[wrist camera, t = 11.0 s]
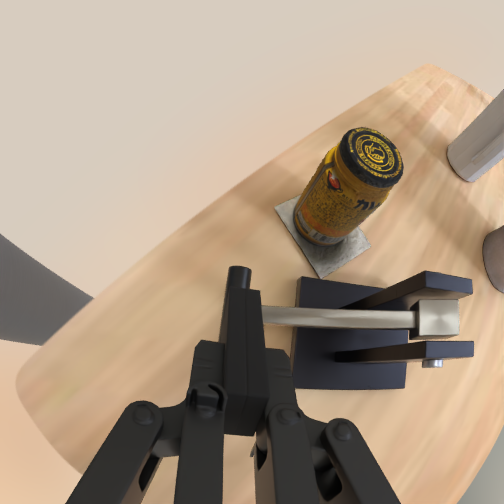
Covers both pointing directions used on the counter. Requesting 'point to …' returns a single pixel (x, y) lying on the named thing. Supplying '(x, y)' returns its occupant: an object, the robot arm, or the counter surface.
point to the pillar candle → (495, 257)
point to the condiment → (342, 199)
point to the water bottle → (480, 143)
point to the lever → (359, 315)
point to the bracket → (369, 334)
